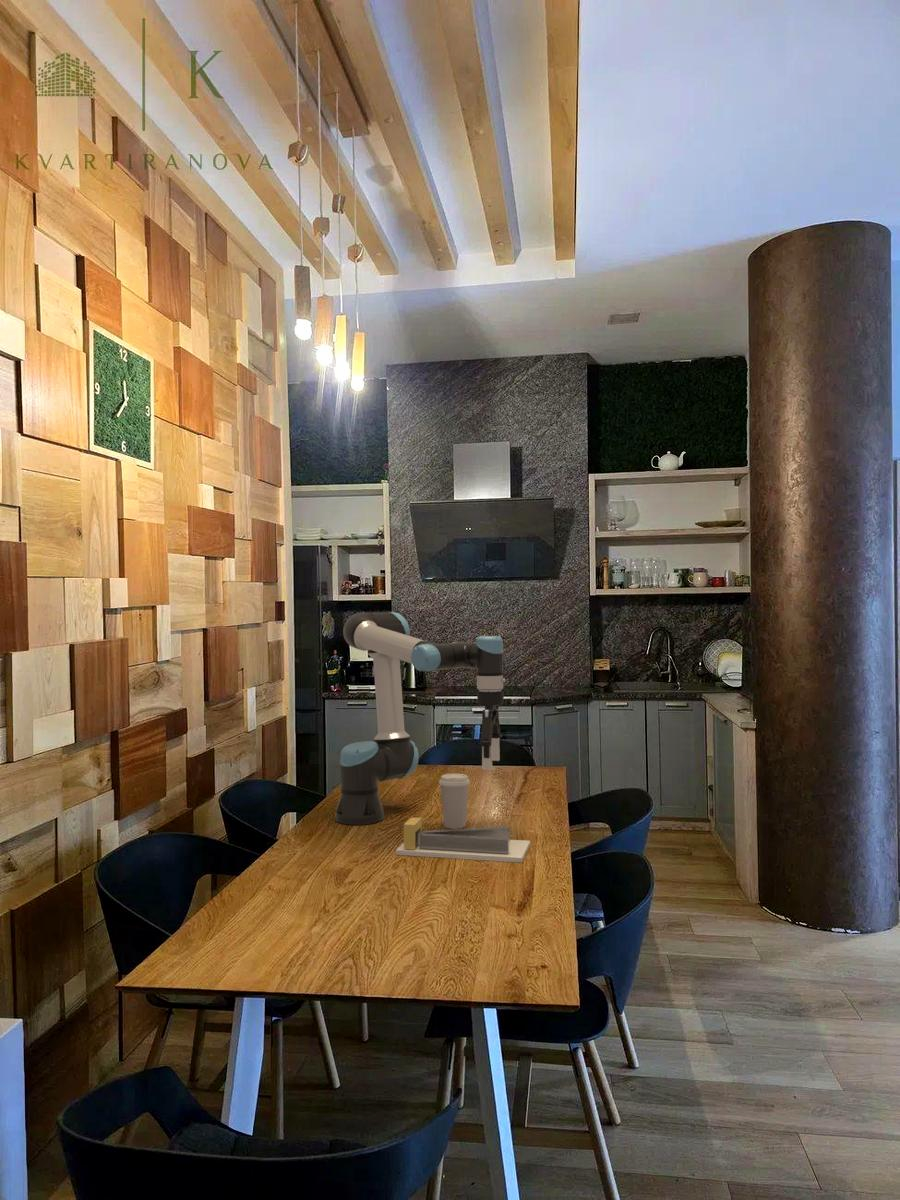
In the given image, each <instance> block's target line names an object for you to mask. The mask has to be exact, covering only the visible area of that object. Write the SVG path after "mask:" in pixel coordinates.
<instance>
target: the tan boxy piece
mask: <svg viewBox="0 0 900 1200" xmlns="http://www.w3.org/2000/svg"><path fill="white" fill-rule="evenodd" d="M417 830H418V831H420V834H421V833H422V831H423V818H422V817H410V818H409V819H408V820H407V821H406V822H404V824H403V843H404V849H416V847H415V832H416V831H417Z"/></svg>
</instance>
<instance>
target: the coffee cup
mask: <svg viewBox="0 0 900 1200" xmlns="http://www.w3.org/2000/svg"><path fill="white" fill-rule="evenodd" d="M470 784H471V781H470V779H469V777H468V775H467V774H464V773H446V774H442V775H441V777H440V779H439V781H438V785H439V786H440V794H441V795H440V796H441V804H442V805H441V807H442V816H443V827H444V828H447V829H450V828H451V829H464V828H465V827H466V825H467V814H468V813H467V811H468V800H469V799H468V797H469V786H470ZM463 827H464V828H463Z"/></svg>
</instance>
